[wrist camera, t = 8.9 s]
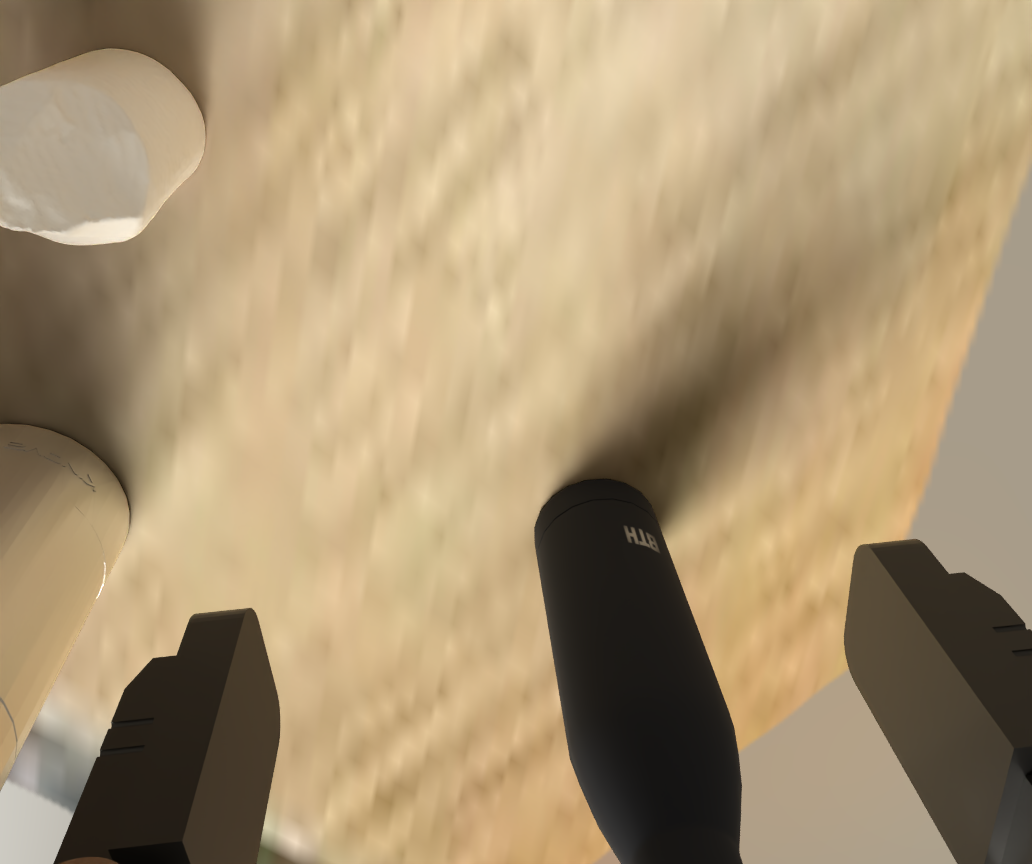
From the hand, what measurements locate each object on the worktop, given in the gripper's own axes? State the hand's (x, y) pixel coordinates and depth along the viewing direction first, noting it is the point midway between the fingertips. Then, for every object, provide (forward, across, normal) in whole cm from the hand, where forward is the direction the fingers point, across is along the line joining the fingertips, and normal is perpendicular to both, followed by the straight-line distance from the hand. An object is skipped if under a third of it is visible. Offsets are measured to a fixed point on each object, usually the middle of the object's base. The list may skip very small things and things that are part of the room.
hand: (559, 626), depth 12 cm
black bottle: (+30, -5, +20) cm, 36 cm away
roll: (+30, +14, -2) cm, 33 cm away
